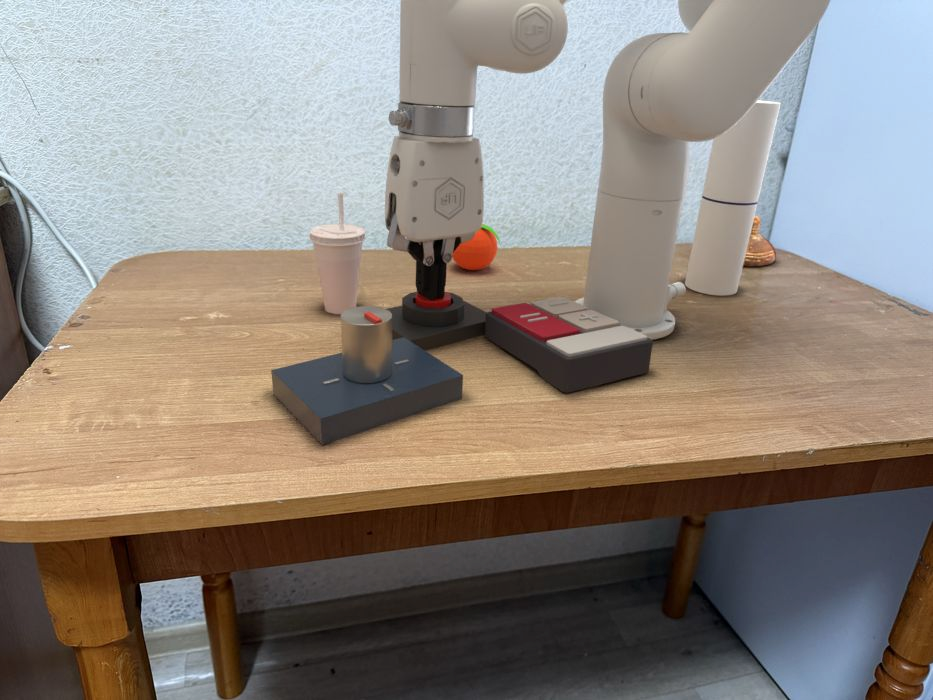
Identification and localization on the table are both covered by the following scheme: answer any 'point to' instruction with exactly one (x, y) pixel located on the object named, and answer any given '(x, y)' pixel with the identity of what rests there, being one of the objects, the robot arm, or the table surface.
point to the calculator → (569, 343)
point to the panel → (364, 392)
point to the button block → (436, 322)
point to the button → (433, 301)
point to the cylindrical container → (731, 201)
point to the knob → (366, 344)
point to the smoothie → (338, 261)
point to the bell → (758, 248)
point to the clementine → (477, 250)
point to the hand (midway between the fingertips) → (430, 295)
